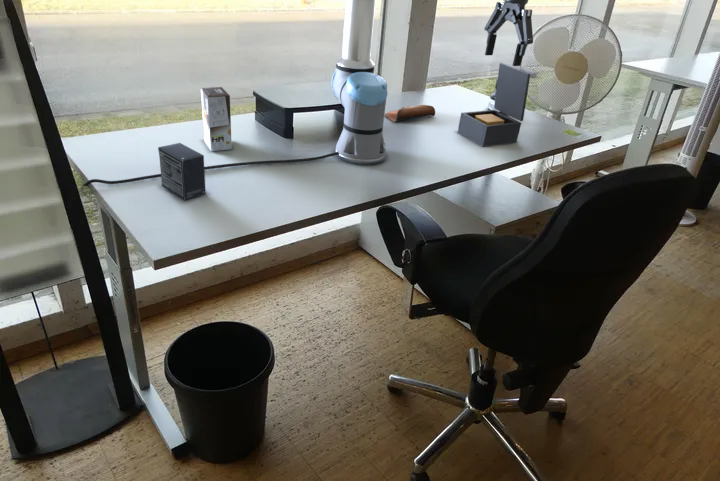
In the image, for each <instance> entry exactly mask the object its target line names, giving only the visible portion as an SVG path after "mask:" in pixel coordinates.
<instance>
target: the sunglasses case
mask: <svg viewBox="0 0 720 481" xmlns="http://www.w3.org/2000/svg"><path fill="white" fill-rule="evenodd" d="M427 116H431V117H435V116H436V109H435V107H434V106H433V105H429V104H417V105H416V104H415V105H410V106H409V105H408V106H403V107H401V108H399V109H394V110H391V111H388V112H385V114H384V117H386V118H387V119H389V120H390V121H392V122H394V123H396V122H399V121H404V120H408V119H411V118H419V117H427Z"/></svg>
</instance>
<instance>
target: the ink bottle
mask: <svg viewBox="0 0 720 481" xmlns="http://www.w3.org/2000/svg"><path fill="white" fill-rule="evenodd" d="M497 81H498V78H497V79H496V81H495V86H494V91H492V92H491V93H490V95H489V99H488V100H489V101H488V105H487V110H496V109H494V105H495V97H496V89H497ZM496 111H498V110H496ZM498 112H500V111H498ZM500 113H502V112H500ZM502 114H504V113H502ZM504 115H506V116H508V115H507V114H504Z"/></svg>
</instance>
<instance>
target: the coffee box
mask: <svg viewBox="0 0 720 481" xmlns="http://www.w3.org/2000/svg"><path fill="white" fill-rule="evenodd" d="M200 96H201V98H200V99H201V110H202V125H203V126H202V127H203V141H204V143H205V144H206V146H207V147H208V149H209V150H210V151H211V152H217V151H229V150H232V146H233V144H232V121H231V120H232V119H231V96H230V94H229V93H228V92H227V91H226V90H225V89H224V88H223V87H222V86H211V87H209V86H208V87H201V88H200Z"/></svg>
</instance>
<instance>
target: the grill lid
mask: <svg viewBox="0 0 720 481" xmlns="http://www.w3.org/2000/svg"><path fill="white" fill-rule="evenodd" d="M536 77H537V72H535V71H533V70H530V69H528V68H525V67H522V66H520V68H517V67H515V66H512V65H509V64H507V63H504V62H499V66H498V73H497V79H498V81H497V80H496V81H497V89H496V90H495V91H496V97H495V105H494V109H496V110H498V111H500V112H502V113H504V114H507V115H506V116H508V117H511V118H513V119H515V120H517V121H519V122H524V117H525V111H526V105H527V100H528V99H527V98H528V92H529V86H530V79H535V78H536Z"/></svg>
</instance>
